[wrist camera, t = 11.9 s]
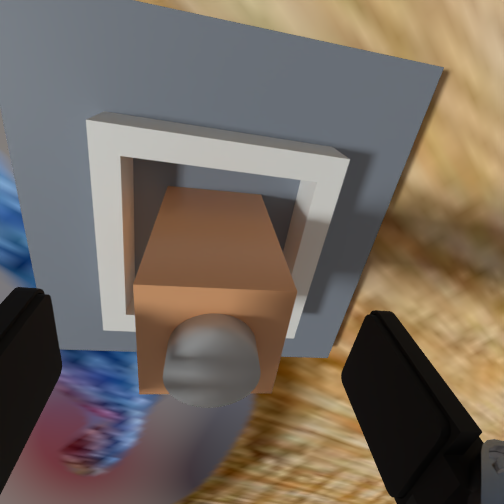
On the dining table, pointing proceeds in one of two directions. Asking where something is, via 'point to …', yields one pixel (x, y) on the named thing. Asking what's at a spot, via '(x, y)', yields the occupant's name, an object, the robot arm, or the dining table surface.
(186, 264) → the connector plug
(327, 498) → the dining table surface
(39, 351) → the robot arm
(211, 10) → the dining table surface
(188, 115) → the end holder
